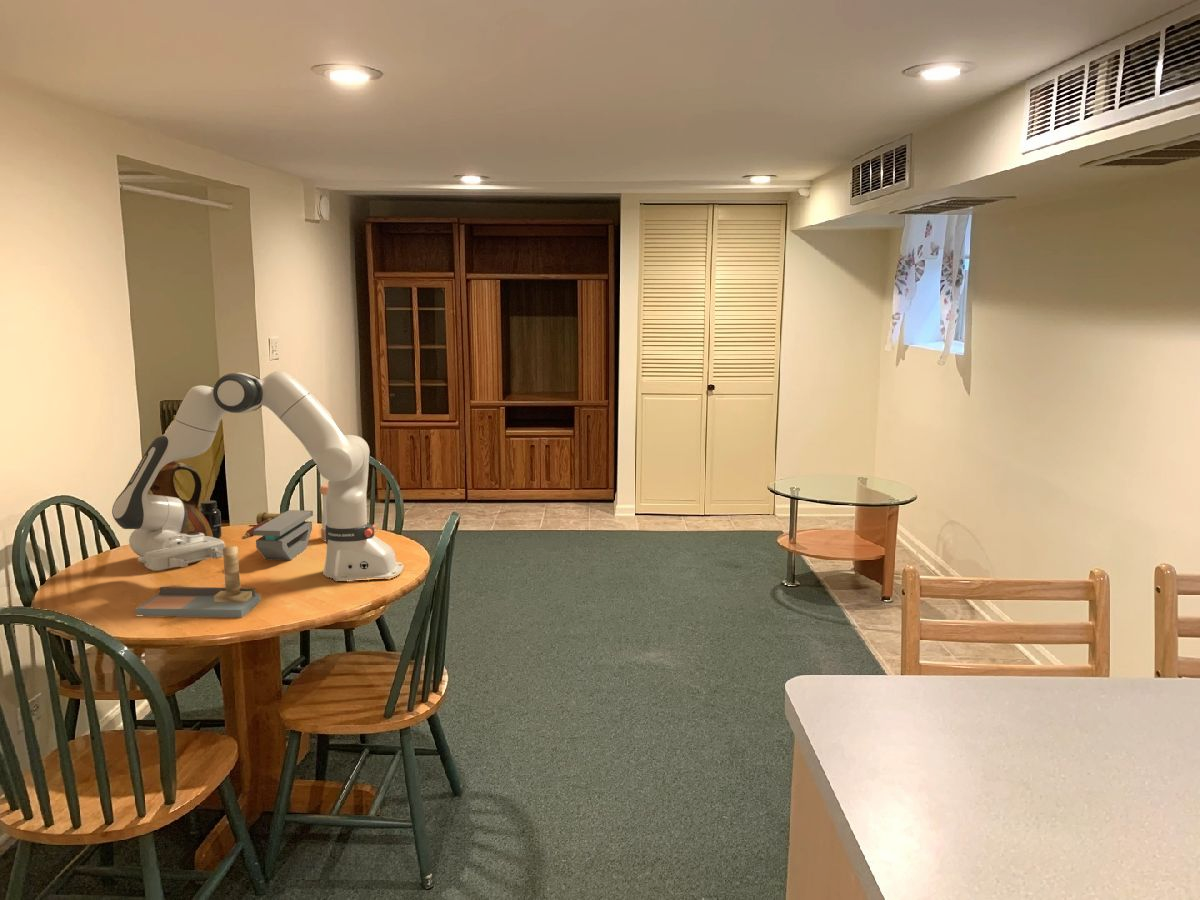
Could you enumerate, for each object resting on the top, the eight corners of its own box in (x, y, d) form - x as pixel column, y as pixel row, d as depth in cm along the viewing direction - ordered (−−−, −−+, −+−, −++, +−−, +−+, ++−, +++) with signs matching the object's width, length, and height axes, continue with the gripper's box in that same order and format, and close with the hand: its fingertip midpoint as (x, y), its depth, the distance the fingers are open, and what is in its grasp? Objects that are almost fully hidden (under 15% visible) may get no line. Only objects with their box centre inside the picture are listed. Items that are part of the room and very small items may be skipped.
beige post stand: (252, 596, 225) (249, 545, 222) (246, 602, 221) (243, 550, 218) (221, 596, 225) (217, 545, 222) (214, 601, 221) (210, 549, 218)
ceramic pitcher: (131, 559, 262) (123, 460, 257) (201, 547, 276) (195, 453, 271) (150, 574, 248) (142, 470, 243) (223, 561, 261) (217, 462, 256)
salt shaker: (317, 538, 287) (315, 481, 284) (339, 534, 292) (336, 478, 288) (326, 543, 282) (324, 484, 278) (348, 539, 286) (346, 482, 283)
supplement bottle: (220, 539, 284) (218, 503, 282) (197, 541, 282) (195, 504, 280) (223, 534, 291) (220, 499, 289) (200, 535, 289) (198, 500, 287)
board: (260, 600, 228) (259, 586, 227) (241, 617, 216) (240, 602, 215) (160, 599, 227) (158, 585, 227) (135, 616, 216) (134, 601, 215)
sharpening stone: (290, 543, 281) (288, 510, 280) (314, 543, 281) (312, 510, 279) (255, 566, 257) (253, 530, 255) (281, 567, 256) (279, 530, 255)
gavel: (258, 530, 285) (229, 529, 286) (259, 544, 286) (231, 542, 287) (289, 511, 305) (262, 510, 306) (290, 524, 306) (263, 522, 307)
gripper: (133, 547, 227) (163, 556, 219) (206, 531, 243) (236, 539, 236) (135, 570, 228) (164, 581, 220) (207, 553, 244) (237, 562, 237)
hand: (202, 559), depth 228 cm, fingers open, 8 cm apart
